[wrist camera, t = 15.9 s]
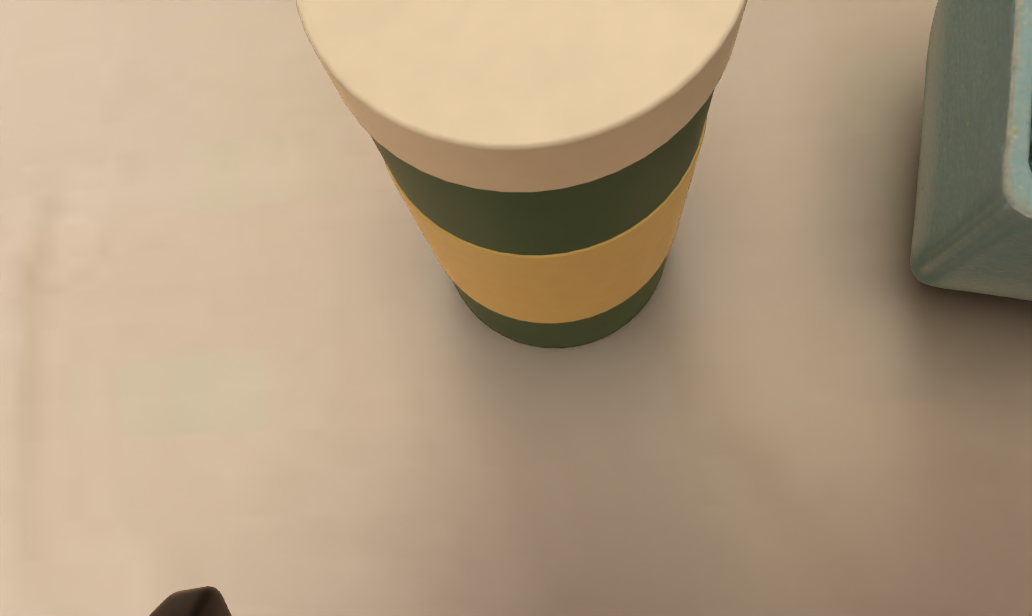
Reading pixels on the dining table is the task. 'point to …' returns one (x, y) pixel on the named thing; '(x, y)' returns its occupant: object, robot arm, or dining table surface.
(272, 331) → the dining table surface
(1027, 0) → the flower pot
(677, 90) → the cheese shaker
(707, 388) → the dining table surface
